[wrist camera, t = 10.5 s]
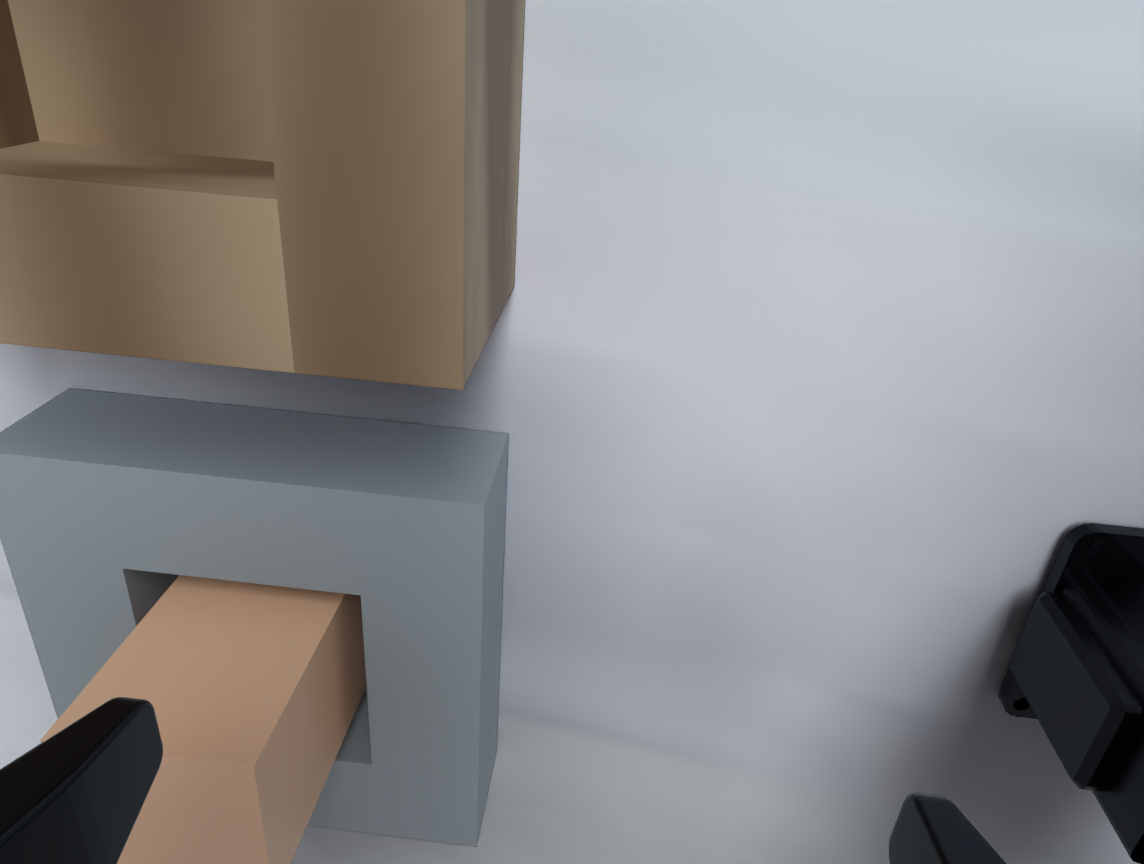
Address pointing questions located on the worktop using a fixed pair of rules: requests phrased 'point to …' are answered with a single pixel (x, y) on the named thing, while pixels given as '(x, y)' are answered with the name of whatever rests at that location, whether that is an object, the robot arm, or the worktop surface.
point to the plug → (235, 715)
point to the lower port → (282, 568)
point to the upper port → (261, 181)
